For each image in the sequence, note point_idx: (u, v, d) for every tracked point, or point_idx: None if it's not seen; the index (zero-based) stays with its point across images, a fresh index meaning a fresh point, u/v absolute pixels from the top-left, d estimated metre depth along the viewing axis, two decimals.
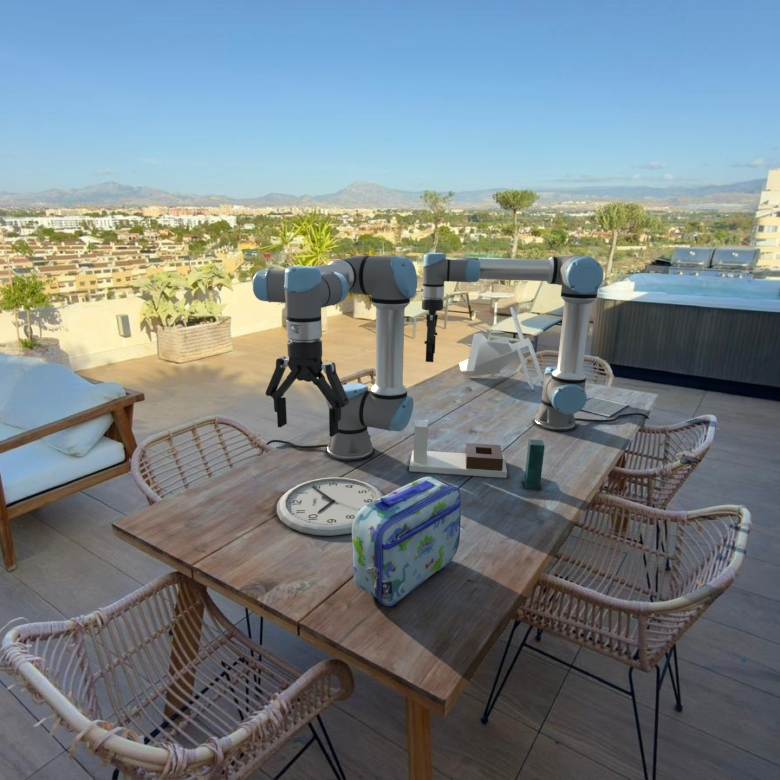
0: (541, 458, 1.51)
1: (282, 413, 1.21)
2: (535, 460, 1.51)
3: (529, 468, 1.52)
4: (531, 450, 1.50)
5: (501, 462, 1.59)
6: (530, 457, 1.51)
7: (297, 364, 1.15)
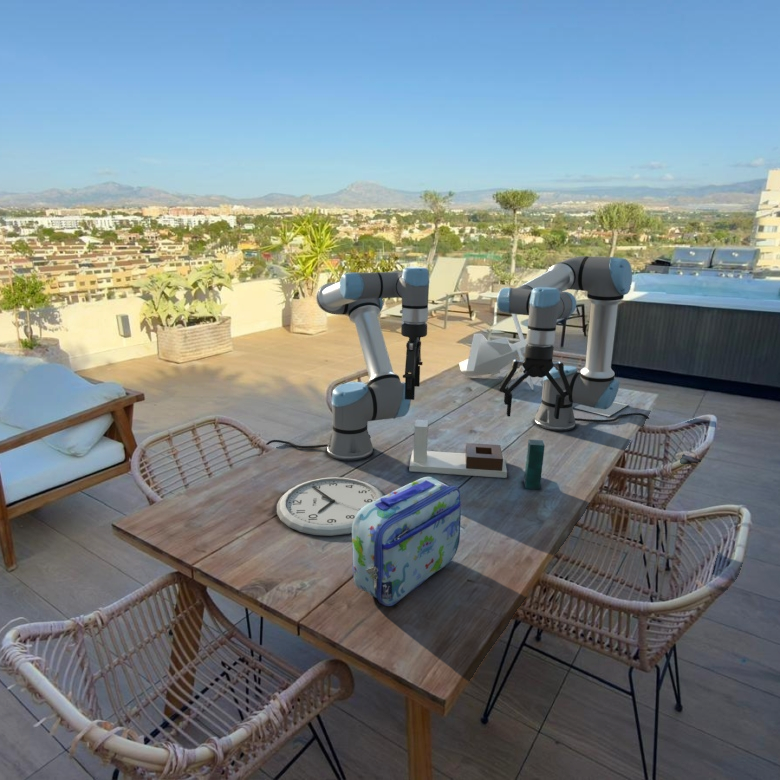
0: (541, 458, 1.51)
1: (414, 376, 1.62)
2: (535, 460, 1.51)
3: (529, 468, 1.52)
4: (531, 450, 1.50)
5: (501, 462, 1.59)
6: (530, 457, 1.51)
7: None
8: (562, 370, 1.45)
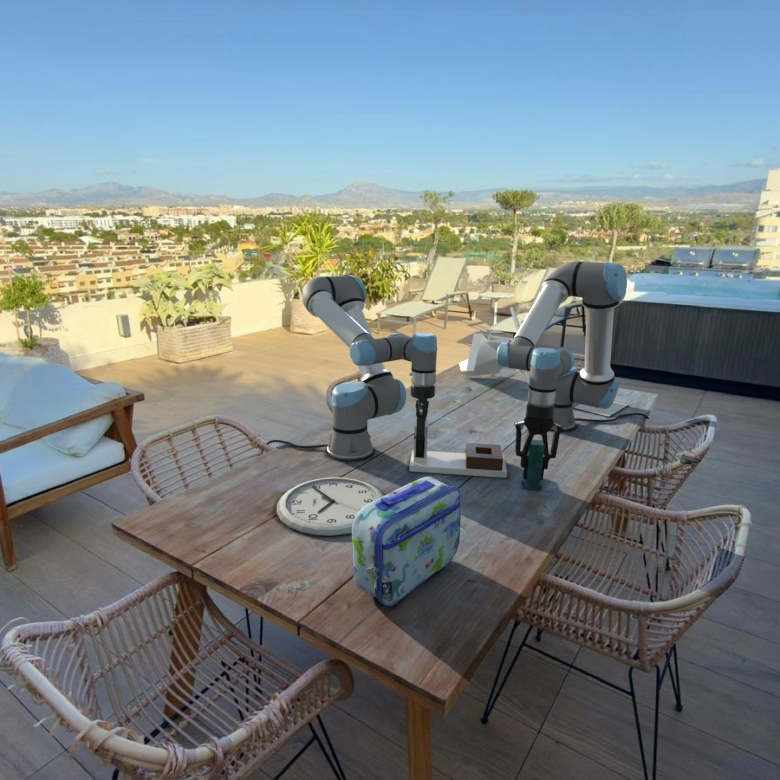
0: (541, 458, 1.51)
1: None
2: (535, 460, 1.51)
3: (529, 468, 1.52)
4: (531, 450, 1.50)
5: (501, 462, 1.59)
6: (530, 457, 1.51)
7: None
8: (558, 433, 1.49)
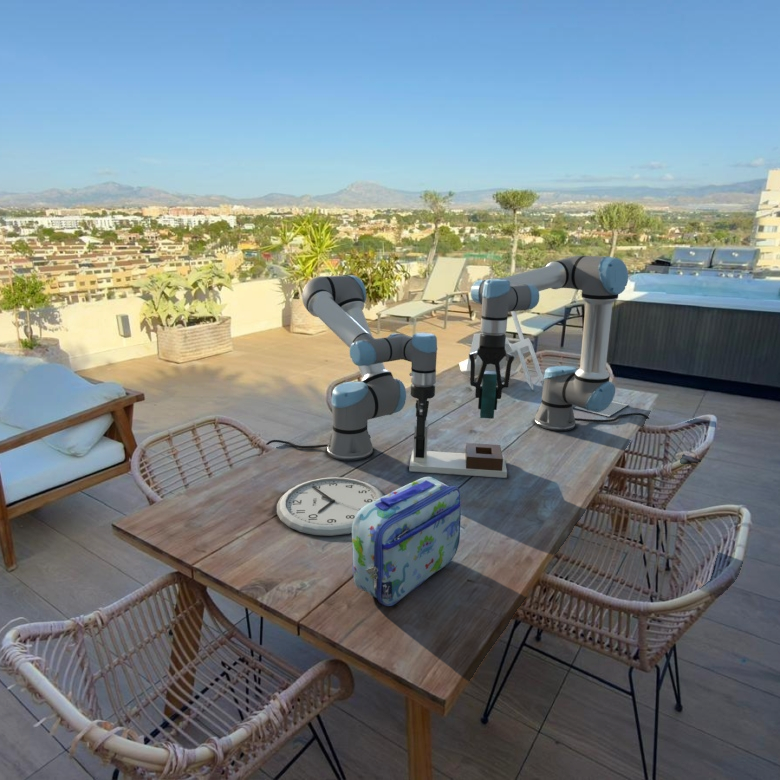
0: (494, 387, 1.56)
1: None
2: (488, 389, 1.57)
3: (483, 397, 1.58)
4: (484, 379, 1.56)
5: (501, 462, 1.59)
6: (483, 386, 1.57)
7: None
8: (510, 363, 1.54)
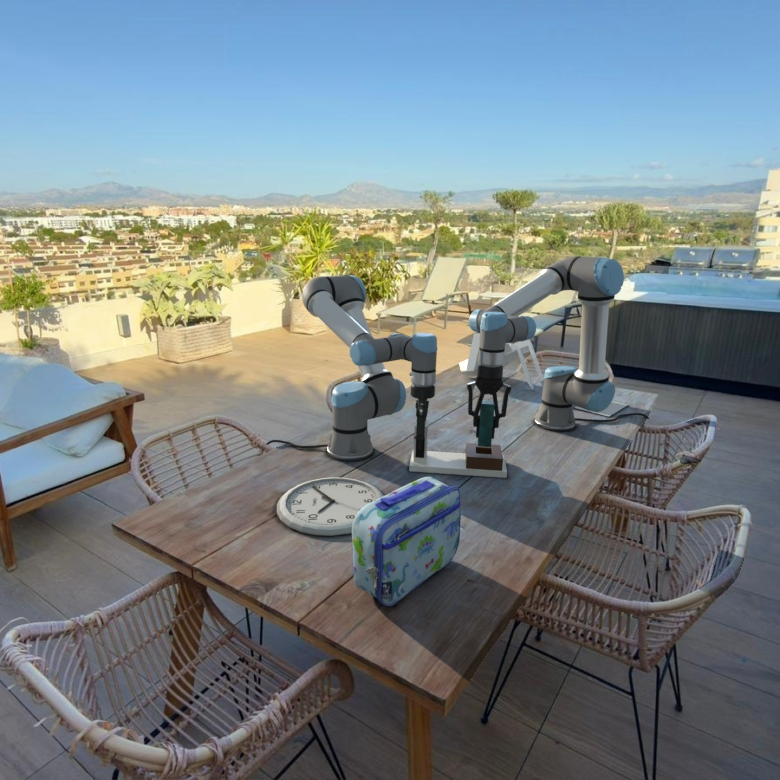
0: (491, 417, 1.59)
1: None
2: (486, 419, 1.60)
3: (480, 427, 1.60)
4: (482, 409, 1.59)
5: (501, 462, 1.59)
6: (481, 416, 1.59)
7: None
8: (507, 393, 1.57)
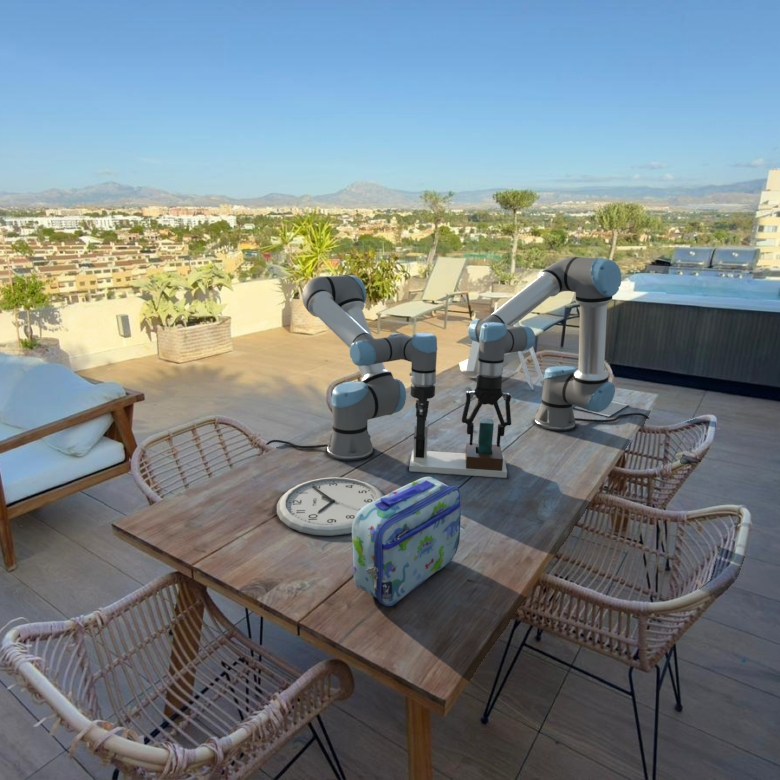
0: (491, 436, 1.61)
1: None
2: (485, 437, 1.61)
3: (480, 445, 1.62)
4: (481, 428, 1.61)
5: (501, 462, 1.59)
6: (480, 435, 1.61)
7: None
8: (508, 401, 1.58)
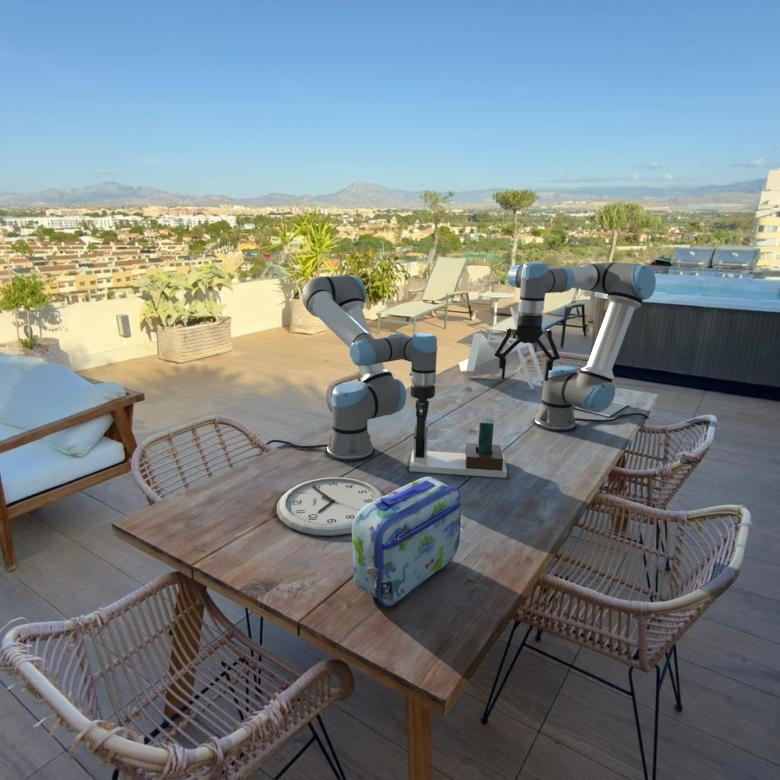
0: (491, 436, 1.61)
1: None
2: (485, 437, 1.61)
3: (480, 445, 1.62)
4: (481, 428, 1.61)
5: (501, 462, 1.59)
6: (480, 435, 1.61)
7: None
8: (550, 336, 1.63)
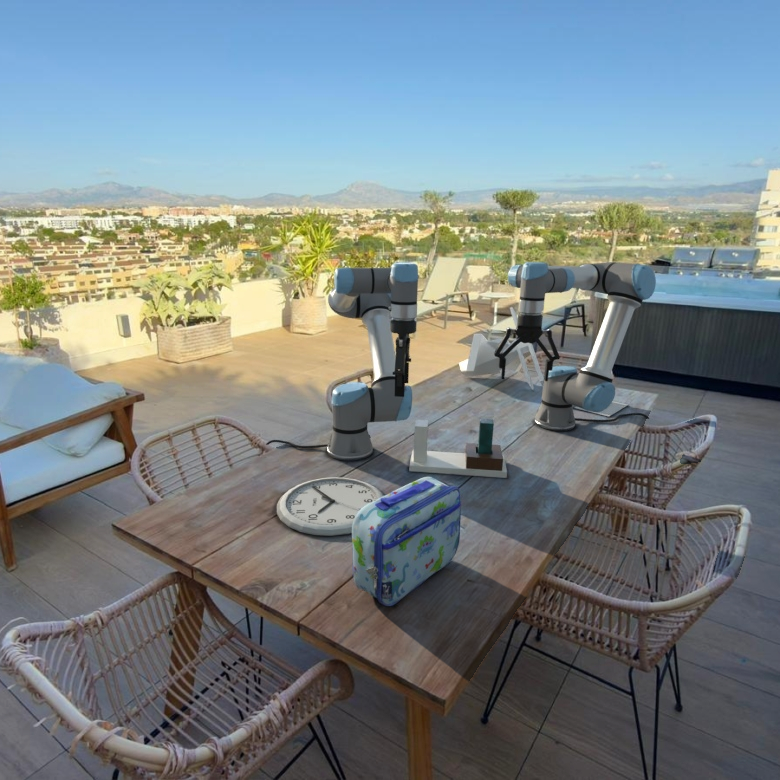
0: (491, 436, 1.61)
1: None
2: (485, 437, 1.61)
3: (480, 445, 1.62)
4: (481, 428, 1.61)
5: (501, 462, 1.59)
6: (480, 435, 1.61)
7: None
8: (550, 336, 1.63)
